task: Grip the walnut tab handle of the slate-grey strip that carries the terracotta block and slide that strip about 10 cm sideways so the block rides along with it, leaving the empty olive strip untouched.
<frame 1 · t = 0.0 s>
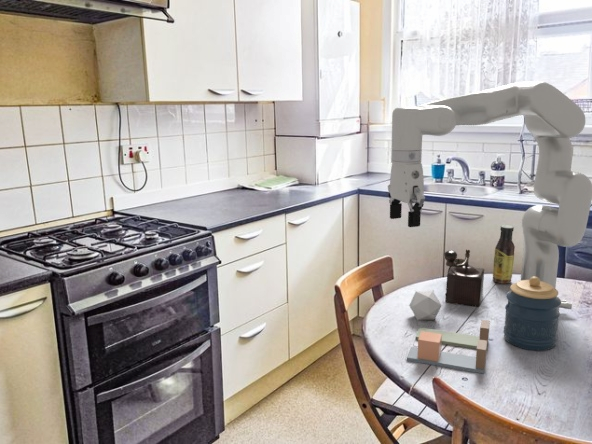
hand: (404, 222, 136), 31 cm above the table, tool pointing down, fingers open, 9 cm apart
sauce bottle: (501, 282, 179), on the table
empty strip: (452, 329, 137), point 3 cm above the table, slide at 0.0 cm
cargo strip: (446, 350, 127), point 3 cm above the table, slide at 0.0 cm, touching terracotta block
canister: (529, 340, 137), on the table
mate gourd: (457, 283, 179), on the table
terracotta block: (429, 355, 129), point 1 cm above the table, touching cargo strip
die: (424, 318, 152), on the table
manual coffee grinder: (462, 302, 163), on the table
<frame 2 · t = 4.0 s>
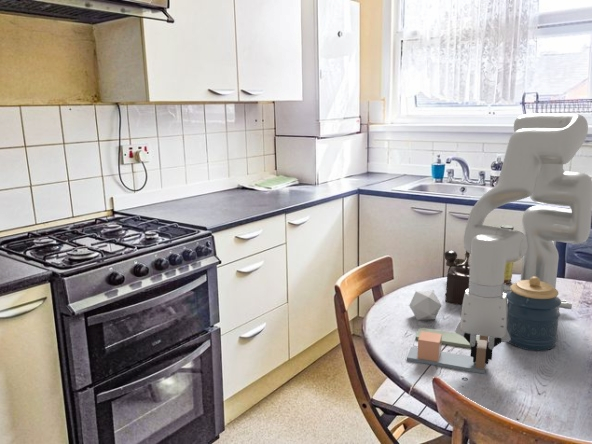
hand: (480, 360, 124), 2 cm above the table, tool pointing down, fingers closed on cargo strip, 2 cm apart
cargo strip: (446, 350, 127), point 3 cm above the table, slide at 0.0 cm, touching gripper, terracotta block
everything else where it was.
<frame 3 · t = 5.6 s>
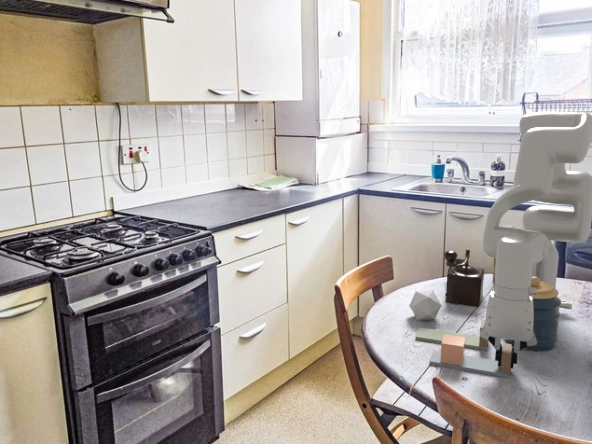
hand: (505, 364, 122), 2 cm above the table, tool pointing down, fingers closed on cargo strip, 2 cm apart
cargo strip: (470, 353, 124), point 3 cm above the table, slide at 5.5 cm, touching gripper, terracotta block
terracotta block: (452, 359, 126), point 1 cm above the table, touching cargo strip
everything else where it was.
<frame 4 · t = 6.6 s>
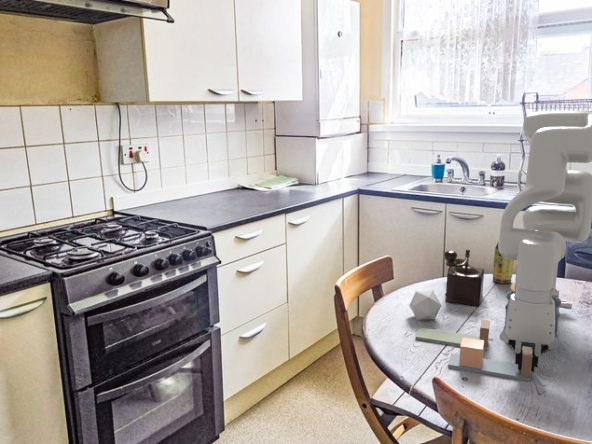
hand: (525, 367, 120), 2 cm above the table, tool pointing down, fingers closed on cargo strip, 2 cm apart
cargo strip: (489, 357, 123), point 3 cm above the table, slide at 9.8 cm, touching gripper, terracotta block
terracotta block: (471, 362, 125), point 1 cm above the table, touching cargo strip
everything else where it was.
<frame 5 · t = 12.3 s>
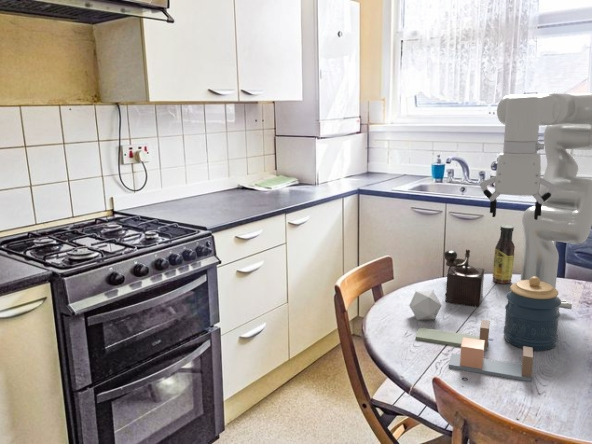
hand: (514, 217, 130), 33 cm above the table, tool pointing down, fingers open, 9 cm apart
cargo strip: (490, 357, 123), point 3 cm above the table, slide at 10.0 cm, touching terracotta block
everything else where it was.
at the end: cargo strip slide at 10.0 cm; terracotta block inside the target area (0.0 cm from its centre), point 0.8 cm above the table; terracotta block tilted 0° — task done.
